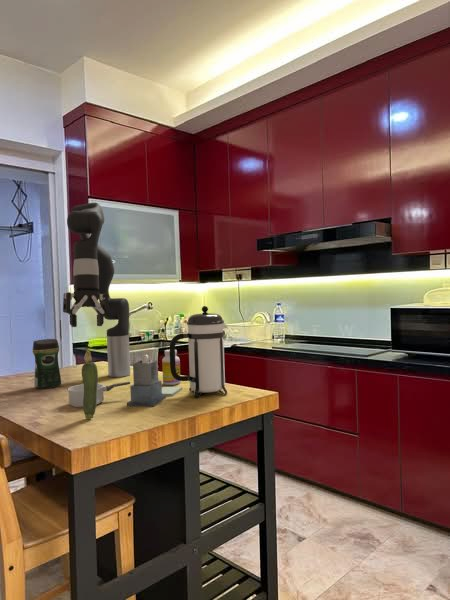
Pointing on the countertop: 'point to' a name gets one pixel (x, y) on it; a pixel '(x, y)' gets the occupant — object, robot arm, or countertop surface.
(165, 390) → the pad
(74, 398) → the saucepan
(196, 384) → the coffee press
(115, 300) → the robot arm
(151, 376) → the collar
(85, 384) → the vegetable
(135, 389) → the grey peg stand
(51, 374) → the coffee jar
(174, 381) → the supplement bottle
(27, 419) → the countertop surface
